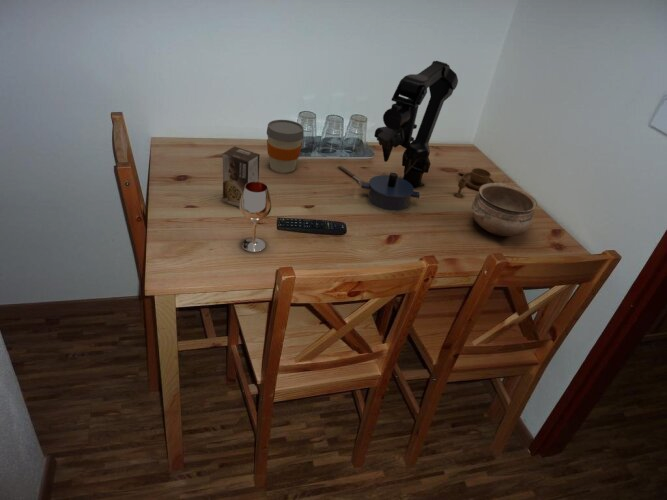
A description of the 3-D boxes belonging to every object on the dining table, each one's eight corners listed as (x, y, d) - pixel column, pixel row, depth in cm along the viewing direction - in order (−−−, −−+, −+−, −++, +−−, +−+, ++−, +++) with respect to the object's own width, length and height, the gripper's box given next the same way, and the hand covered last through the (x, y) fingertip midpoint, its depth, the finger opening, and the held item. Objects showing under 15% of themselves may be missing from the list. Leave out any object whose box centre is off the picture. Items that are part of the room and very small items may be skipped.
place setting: (504, 195, 183) (510, 180, 180) (457, 198, 177) (462, 183, 173) (478, 172, 197) (482, 158, 193) (433, 175, 190) (437, 160, 186)
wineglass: (239, 235, 141) (241, 178, 131) (269, 237, 142) (272, 180, 132) (237, 253, 135) (238, 193, 124) (268, 254, 136) (272, 196, 125)
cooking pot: (484, 253, 150) (497, 218, 143) (446, 219, 163) (456, 186, 156) (545, 240, 161) (559, 207, 154) (505, 210, 174) (516, 178, 167)
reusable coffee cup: (273, 177, 172) (276, 135, 163) (259, 161, 181) (261, 120, 172) (306, 172, 178) (310, 132, 169) (291, 157, 186) (294, 118, 178)
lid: (370, 174, 172) (373, 161, 169) (413, 182, 171) (416, 168, 169) (367, 194, 160) (369, 180, 157) (412, 203, 159) (416, 188, 157)
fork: (372, 188, 175) (369, 164, 173) (367, 189, 173) (363, 165, 171) (345, 188, 187) (342, 165, 185) (340, 189, 186) (336, 167, 184)
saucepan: (361, 187, 174) (364, 172, 171) (416, 196, 174) (419, 182, 171) (357, 206, 163) (360, 191, 160) (416, 216, 163) (420, 201, 159)
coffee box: (258, 202, 157) (261, 154, 148) (247, 210, 152) (248, 161, 143) (233, 193, 160) (234, 145, 151) (221, 201, 155) (221, 152, 146)
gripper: (365, 112, 154) (357, 159, 163) (408, 136, 142) (397, 185, 151) (392, 108, 160) (383, 153, 169) (435, 130, 149) (422, 178, 157)
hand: (395, 167), depth 161 cm, fingers open, 9 cm apart
